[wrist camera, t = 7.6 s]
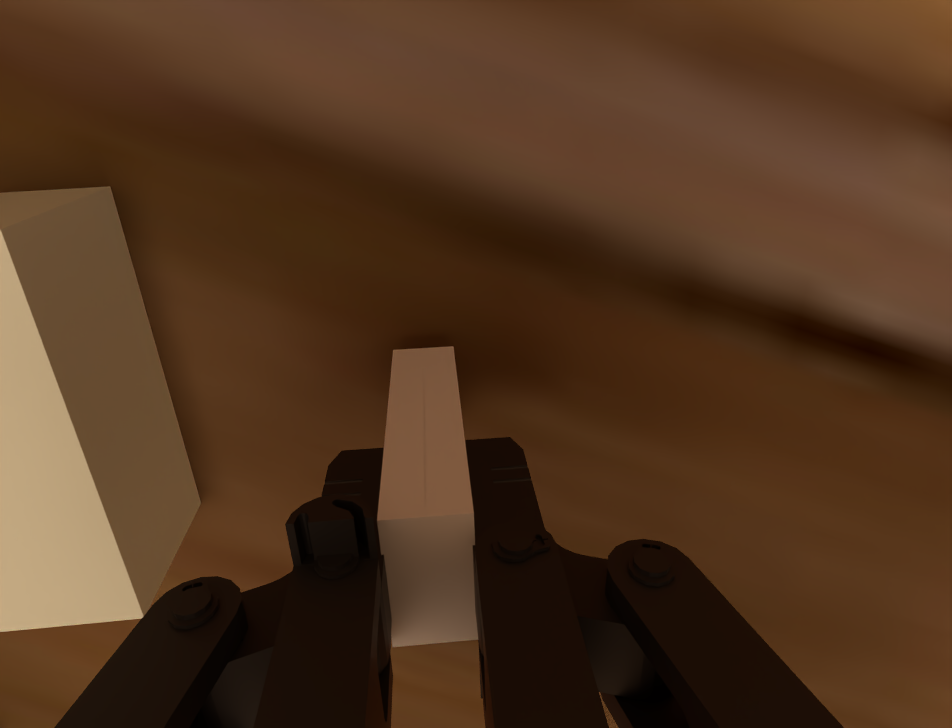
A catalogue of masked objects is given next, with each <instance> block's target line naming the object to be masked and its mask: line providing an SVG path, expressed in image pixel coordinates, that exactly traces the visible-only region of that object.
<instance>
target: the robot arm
mask: <svg viewBox="0 0 952 728" xmlns="http://www.w3.org/2000/svg"><path fill="white" fill-rule="evenodd" d="M285 525H286V530H287V535H288V540H289V545H290V550H291V555H292V560H293V565H294V567H293V571H292V572H290V573H289V574H287V575H285V576H284V577H282V578H281V579H279V580H276V581H274V582H271V583H269V584H266V585H263V586H260V587H257V588H254V589H251V590H248V591H245V592H242V593H241V592H240V588H239V587H238V586H236V585H235V584H234V583H233V582H232V581H231V580H228V579H225V578H221V577H218V576H216V577H200V578H197V579H194V580H191V581H187V582H184V583H182V584H180V585H178V586H176V587H175V588H173V589H171V590H169V591H168V592H166V593H165V594H164V595H163V596H162V597H161V598H160V599H159V600H158V601H156V602H155V603H154V604H153V605H152V607H151V608H150V609H149V610H148V612H147V613H146V614H145V615H144V617H143V618H142V619H141V620H140V622H139V623H138V624H137V625H136V627H135V628H134V629H133V630H132V632H131V633H130V634H129V635H128V637H127V638H126V639H125V640H124V642H123V643H122V644H121V645H120V647H119V648H118V649H117V650H116V652H115V653H114V654H113V655H112V657H111V658H110V659H109V660H108V662H107V663H106V664H105V665H104V666H103V668H102V669H101V670H100V671H99V673H98V674H97V675H96V676H95V678H94V679H93V680H92V681H91V683H90V684H89V685H88V686H87V688H86V689H85V690H84V691H83V693H82V694H81V695H80V696H79V698H78V699H77V700H76V701H75V703H74V704H73V705H72V706H71V708H70V709H69V710H68V711H67V713H66V714H65V715H64V716H63V718H62V719H61V720H60V721H59V723H58V724H57V725H56V726H55V728H391V709H392V685H393V672H392V664H391V656H390V647H391V638H392V646H393V647H401V646H412V645H423V644H434V643H445V642H456V641H468V640H478V641H479V661H480V685H481V698H483V705H484V716H485V726H486V728H609V727H608V723H607V720H606V716H605V713H604V709H603V706H602V702H601V699H600V695H599V692H600V693H601V696H602V699H603V701H604V703H605V704H606V706H607V708H608V710H609V711H610V713H611V715H612V717H613V718H614V720H615V722H616V724H617V725H618V727H619V728H844V727H843V726H842V725H841V724H840V723H839V722H838V721H837V720H836V719H835V718H834V716H833V715H832V714H831V713H830V712H829V711H828V710H827V709H826V708H825V707H824V706H823V704H822V703H821V702H820V701H819V700H818V699H817V698H816V697H815V696H814V695H813V694H812V692H811V691H810V690H809V689H808V688H807V687H806V686H805V685H804V684H803V683H802V682H801V680H800V679H799V678H798V677H797V676H796V675H795V674H794V673H793V672H792V671H791V669H790V668H789V667H788V666H787V665H786V664H785V663H784V662H783V661H782V660H781V659H780V657H779V656H778V655H777V654H776V653H775V652H774V651H773V650H772V649H771V648H770V647H769V645H768V644H767V643H766V642H765V641H764V640H763V639H762V638H761V637H760V636H759V635H758V633H757V632H756V631H755V630H754V629H753V628H752V627H751V626H750V625H749V624H748V622H747V621H746V620H745V619H744V618H743V617H742V616H741V615H740V614H739V613H738V612H737V610H736V609H735V608H734V607H733V606H732V605H731V604H730V603H729V602H728V601H727V600H726V598H725V597H724V596H723V595H722V594H721V593H720V592H719V591H718V590H717V589H716V588H715V586H714V585H713V584H712V583H711V582H710V581H709V580H708V579H707V578H706V577H705V575H704V574H703V573H702V572H701V571H700V570H699V569H698V568H697V567H696V566H695V565H694V563H693V562H692V561H691V560H690V559H689V558H688V557H687V556H685V555H684V554H683V553H682V552H680V551H679V550H678V549H677V548H675V547H672V546H670V545H667V544H665V543H663V542H660V541H653V540H647V539H640V540H631V541H627V542H625V543H623V544H620V545H618V546H616V547H615V548H614V550H613V551H612V552H611V553H610V554H609V556H608V559H602V558H595V557H589V556H584V555H580V554H576V553H573V552H571V551H569V550H566V549H564V548H562V547H561V546H559V545H558V544H557V543H556V542H555V541H554V539H553V537H552V536H551V534H550V533H548V532H547V531H546V530H545V528H544V524H543V521H542V517H541V513H540V510H539V506H538V502H537V499H536V495H535V491H534V488H533V484H532V481H531V477H530V473H529V469H528V467H527V462H526V458H525V455H524V451H523V449H522V448H521V447H520V446H519V445H518V444H517V443H515V442H514V441H513V440H512V439H511V438H510V437H505V438H491V439H476V440H465V437H464V429H463V420H462V412H461V404H460V396H459V388H458V380H457V371H456V363H455V355H454V347H453V346H449V347H433V348H417V349H401V350H393V357H392V367H391V378H390V388H389V399H388V410H387V420H386V431H385V441H384V448H373V449H359V450H345V451H341V452H340V453H339V454H338V456H337V457H336V458H335V459H334V460H333V461H332V462H331V463H330V464H329V466H328V470H327V474H326V479H325V485H324V487H323V492H322V497H319V498H316V499H314V500H312V501H309V502H307V503H305V504H303V505H302V506H300V507H299V508H298V509H297V510H295V511H294V512H293V513H292V514H291V515H290V517H289V519H288V521H287V522H286V524H285Z"/></svg>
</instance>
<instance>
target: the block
mask: <svg viewBox="0 0 952 728" xmlns="http://www.w3.org/2000/svg"><path fill="white" fill-rule="evenodd" d="M200 504H201V501H200V497H199V494H198V490H197V487H196V483H195V480H194V476H193V473H192V470H191V466H190V463H189V459H188V456H187V452H186V449H185V445H184V442H183V438H182V435H181V431H180V428H179V424H178V421H177V417H176V414H175V410H174V407H173V403H172V400H171V396H170V393H169V389H168V386H167V382H166V379H165V375H164V372H163V368H162V365H161V362H160V358H159V355H158V351H157V348H156V344H155V341H154V337H153V334H152V330H151V327H150V323H149V320H148V316H147V313H146V309H145V306H144V302H143V299H142V295H141V292H140V288H139V285H138V281H137V278H136V274H135V271H134V267H133V264H132V260H131V257H130V254H129V250H128V247H127V243H126V240H125V236H124V233H123V229H122V226H121V222H120V219H119V215H118V212H117V208H116V205H115V201H114V198H113V194H112V191H111V187H110V186H108V187H91V188H74V189H57V190H39V191H22V192H5V193H0V632H5V631H15V630H26V629H36V628H47V627H57V626H68V625H78V624H88V623H99V622H109V621H120V620H130V619H140V618H143V617H144V615H145V614H146V613H147V612H148V610H149V608H150V605H151V603H152V601H153V599H154V597H155V595H156V593H157V591H158V589H159V587H160V585H161V583H162V581H163V579H164V577H165V575H166V573H167V571H168V569H169V567H170V565H171V563H172V561H173V559H174V557H175V555H176V553H177V551H178V549H179V547H180V545H181V543H182V541H183V539H184V537H185V535H186V533H187V531H188V529H189V527H190V525H191V523H192V521H193V519H194V517H195V515H196V513H197V510H198V508H199V506H200Z"/></svg>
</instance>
